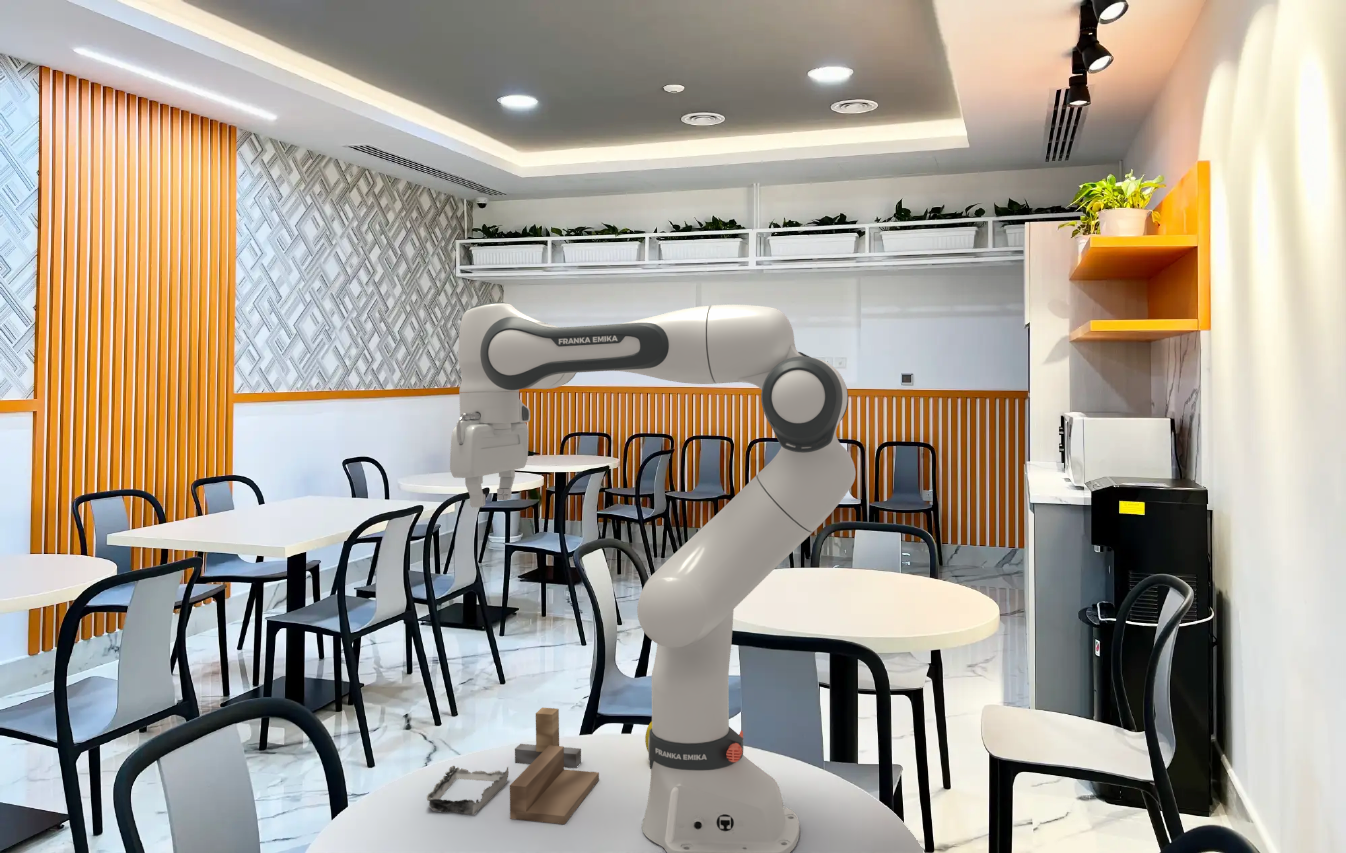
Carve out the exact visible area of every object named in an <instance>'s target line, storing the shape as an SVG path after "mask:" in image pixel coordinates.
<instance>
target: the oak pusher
mask: <svg viewBox="0 0 1346 853" xmlns="http://www.w3.org/2000/svg"><path fill="white" fill-rule="evenodd" d="M559 714H560V708H554V707H553V708H551V707H541V708H540V709H539V710H538V711H537V712H536V713H535V744H528V743H520V744H519V745H517V746H516V747H515V748H514V763H515V764H522V765H530V764H531V763H532V762H533V761H534V760H535V759H536V758H537V757H538V756H539V755H540V754H541V753H542V752H543V751H544V750H545V749H546V748H547V747H548V746H549V745H551V746H560V717H559V716H560V715H559ZM581 763H582V749H581V748H579V747H578V748H577V747H566V746H564V768H568V769H577V768H578V767H579V766H580V765H581ZM579 764H580V765H579ZM577 766H578V767H577Z"/></svg>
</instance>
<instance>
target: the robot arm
mask: <svg viewBox="0 0 1346 853" xmlns="http://www.w3.org/2000/svg"><path fill="white" fill-rule="evenodd" d="M458 335H459V336H458V366H459V369H460V374H461V382H460V386H459V390H458V391H459V393H458V394H459V419H458V421H456V426H455V427H454V428H453V430H452V433H451V439H450V449H449V450H450V454H449V455H450V456H449V470H450V473H451V476H452V477H453V478H456V479H457V478H458V479H464V481H465V482H464V484H465V487H466V490H467V492H468V494H469V505H470V507H472V508H482V507H485V506H486V494H484V492H483V487H482V484H483V482H484V481H483V480H484V476H488V475H493V474H498V477H499V486H498V488H497V489H496V494H497V496H496V498H497V500H498V501H508V500H511V499H512V488H513V484H514V481H515V477H516V475H515V474H516V471H515V470H520V469H524V468H525V467H526V465H527V463H528V462H527V461H528V458H529V457H528V455H529V428H528V425H527V423H528V422H530V420H531V410H530V408H529V407H528V406H526V405H525V404H524V403H523V402H522V400H521V399H520V390H524V389H528V390H529V389H534V390H535V389H536V390H538V389H542V390H547V389H548V390H549V389H550V390H551V389H556V388H559V387H562V386H563V385H566V384H568V383H569V382H570V381H571V380H573V378H574V377H575V376H576V374H577V373H593V372H626V373H632V374H635V375H636V374H638V375H643V376H647V377H650V378H651V377H652V378H654V379H660V380H664V381H670V382H675V383H681V384H682V383H683V384H695V385H713V384H714V385H715V384H728V383H729V384H730V383H731V384H732V383H744V384H750V385H753V386H756V387H758V388H759V389H760V390H761V392H760V394H761V396H760V399H761V407H762V410H763V413H764V416H765V418H766V420H767V422H768V424H769V426H770V427H771V429H772V430H773V432H774V433H773V434H774V435H775V437H776V439H777V441H778V442H779V445H780V449H779V451H778V452H777V453H776V455H775V456H774V457H773V458H772V459H771V461H770V462H769V463H768V464H766V465H765V467H763V469H761V470H760V471H759V472H758V473H757V474H756V475H755V476H754V477H753V478H752V479H751V480H750V481H749V482H748V483H747V484H746V485H745V486H743V488H742V489H741V490H740V491H739V492H738V493H737V494H736V495H735V496H734V497H733V498H731V500H730V501H729V502H728V503H726V505H725V506H723V507H722V509H721V510H720V511H718V512H717V513H716V515H714V516H713V517H712V518H711V519H710V520H709V521H708V522H706V524H705V525H703V527H701V528H700V529H699V530H698V531H697V532H696V533H695V534H694V535H693V536H691V538H690V539H688V540H687V542H685V543H684V544H683V545H682V546H680V548H679V549H678V550H677V551H675V553H673V555H672V556H670V557H669V559H667V560H666V561H665V562H664V563H663V564H662V565H661V566H660V567H659V568H658V569H657V570H656V571H655V572H654V573H652V575H651V576H650V577H649V578H648V579H647V580H646V581H645V583H644V586H643V588H642V590H641V592H640V596H639V598H638V602H637V612H636V613H637V618H638V622H639V626H640V628H641V629H642V631H643V632H644V634H645V635H646V636H647V637H648V638H649V639H650V640H651V641H652V642H654V643H656V644H657V645H656V652H655V658H654V663H653V668H652V672H651V722H652V729H650V731H649V741H648V751H647V753H648V763H649V769H650V783H649V791H648V796H647V797H648V798H647V804H646V808H645V812H644V817H643V820H642V823H641V829H642V832H643V834H644V835H645V837H646V838H647V839H649V840H650V841H652V842H653V843H655V844H657V845H659V846H660V847H662V848H663V849H664V850H665V852H666V853H791V852H792V851H793V850H794V849H795V848H796V846H797V844H798V841H799V839H800V833H801V830H800V829H801V827H800V820H799V817H798V815H797V814H796V813H795V812H794V811H793V809H791V808H790V807H789V808H788V807H784V801H783V797H782V793H781V790H780V787H779V784H778V782H777V781H776V780H775V778H774V777H772V775H770V774H768V773H767V772H765V770H763V769H762V768H761V767H759V766H758V765H757V764H755V762H753V761H751V760H750V759H749V758H748V757H746V755H744V731H743V730H740V732H739V733H737V732H736V731H735V730H734V729H733V728H731V727H730V719H729V718H730V717H729V716H730V714H729V713H730V712H729V711H730V710H729V709H730V708H729V707H730V706H729V704H730V703H729V700H730V699H729V697H730V696H729V694H730V693H729V690H730V688H729V687H730V686H729V685H730V684H729V679H730V663H731V662H730V660H731V652H732V651H731V649H732V640H733V639H732V638H733V629H734V628H733V626H734V612H735V611H734V609H735V608H736V607H737V606H739V604H740V603H742V601H743V600H745V599H746V598H747V597H748V596H749V595H750V594H751V593H752V592H753V591H754V590H755V588H757V587H758V586H759V585H760V584H761V583H762V582H763V581H764V580H765V579H766V578H767V576H769V575H770V574H771V573H772V572H773V571H774V569H776V567H778V566H779V565H780V564H782V562H784V560H785V559H786V558H787V557H789V556H790V554H792V553H793V552H794V551H795V550H796V549H797V548H798V547H799V546H800V545H801V544H802V543H803V542H804V541H805V540H807V539H808V537H810V536H811V535H812V534H813V533H814V532H815V531H816V529H818V528H819V527H820V526H821V525H822V524H823V523H824V521H825V520H826V519H827V518H828V517H829V516H830V515H831V514H832V513H833V511H834V510H835V509H836V507H838V506H839V504H840V503H841V502H842V500H843V499H844V498H845V496H846V494H847V493H848V492H849V491H850V489H851V488H852V486H853V484H854V482H855V479H856V474H857V473H856V472H857V471H856V468H855V467H856V466H855V463H854V460H853V459H852V457H851V454H850V453H849V452H848V450H847V449H846V448H845V447H844V446H843V445H842V443H841V442H840V441H839V439H838V437H837V429H838V426H839V425H840V423H841V421H842V420H843V419H844V416H845V414H846V413H847V409H848V405H849V391H848V388H847V386H846V382H845V379H844V378H843V376H842V375H841V373H840V371H839V370H837V369H836V368H835V367H834V366H833V365H832V364H831V363H829V362H827V361H825V360H823V359H820V358H817V357H811V356H810V355H807V354H805V353H803V352H801V351H798V350H797V348H796V343H795V334H794V329H793V326H792V324H791V322H790V320H789V319H788V317H787V315H786V314H785V313H784V312H783V311H781V310H780V309H778V308H776V307H771V306H763V305H753V304H713V305H711V304H710V305H701V306H694V307H689V308H688V307H687V308H682V309H677V310H673V311H668V312H665V313H662V314H658V315H654V316H650V317H645V318H640V319H636V320H631V321H627V322H622V323H613V324H599V325H597V324H596V325H581V326H564V327H563V326H561V327H560V326H557V325H553V324H550V323H548V322H547V323H546V322H543V321H541V320H538V319H535V318H533V317H532V316H531V317H530V316H528V315H527V314H525V313H523V312H521V311H519V310H518V309H516V308H515V307H514V306H513V305H512V304H511V303H507V302H503V301H500V302H499V301H498V302H497V301H495V302H487V303H486V302H485V303H482V304H478V305H475V306H472V307H470V308H468V309H467V310H466V311H465V312H464V313H463V315H462V317H461V321H460V325H459V333H458Z"/></svg>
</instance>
